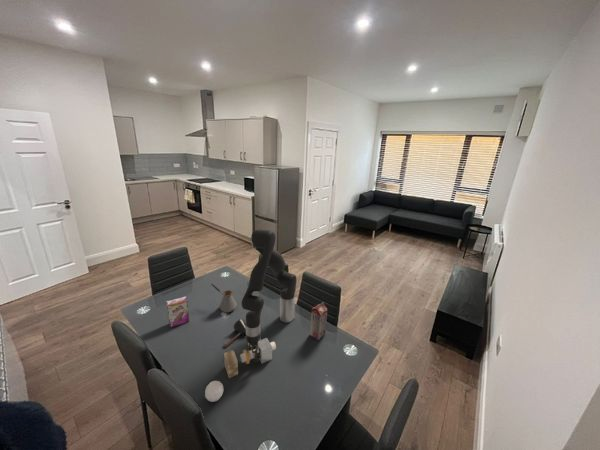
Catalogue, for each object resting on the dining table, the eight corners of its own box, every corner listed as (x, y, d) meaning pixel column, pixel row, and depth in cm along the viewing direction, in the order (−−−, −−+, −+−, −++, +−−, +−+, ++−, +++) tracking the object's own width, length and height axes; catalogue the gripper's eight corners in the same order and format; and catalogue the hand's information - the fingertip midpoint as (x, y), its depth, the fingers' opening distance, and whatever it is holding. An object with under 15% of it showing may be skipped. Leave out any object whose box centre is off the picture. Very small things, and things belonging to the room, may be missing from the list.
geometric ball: (219, 401, 109) (227, 395, 105) (202, 406, 104) (209, 400, 100) (218, 382, 114) (225, 376, 110) (201, 386, 109) (208, 380, 105)
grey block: (266, 350, 135) (266, 337, 132) (272, 359, 129) (272, 346, 126) (256, 354, 132) (256, 341, 129) (261, 363, 126) (261, 350, 123)
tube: (271, 345, 136) (272, 336, 133) (277, 354, 130) (277, 344, 128) (239, 358, 126) (239, 348, 124) (243, 368, 121) (243, 358, 119)
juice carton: (325, 334, 148) (328, 304, 141) (318, 340, 143) (321, 309, 136) (316, 329, 152) (319, 299, 145) (309, 334, 147) (312, 303, 141)
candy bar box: (170, 328, 147) (166, 305, 142) (169, 323, 151) (165, 301, 146) (189, 322, 153) (187, 299, 148) (188, 317, 157) (185, 295, 152)
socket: (233, 362, 126) (233, 349, 123) (238, 374, 120) (237, 360, 117) (225, 366, 123) (224, 353, 121) (228, 378, 117) (228, 364, 115)
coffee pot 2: (243, 324, 152) (252, 333, 148) (218, 342, 141) (226, 352, 136) (243, 316, 149) (251, 324, 144) (216, 334, 137) (224, 344, 132)
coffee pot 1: (240, 307, 169) (239, 288, 164) (228, 316, 159) (227, 297, 155) (218, 297, 178) (217, 279, 174) (205, 305, 169) (204, 287, 164)
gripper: (265, 337, 117) (265, 364, 122) (255, 319, 129) (255, 344, 134) (250, 343, 114) (251, 370, 119) (241, 324, 125) (242, 349, 130)
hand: (253, 356), depth 126 cm, fingers open, 7 cm apart
